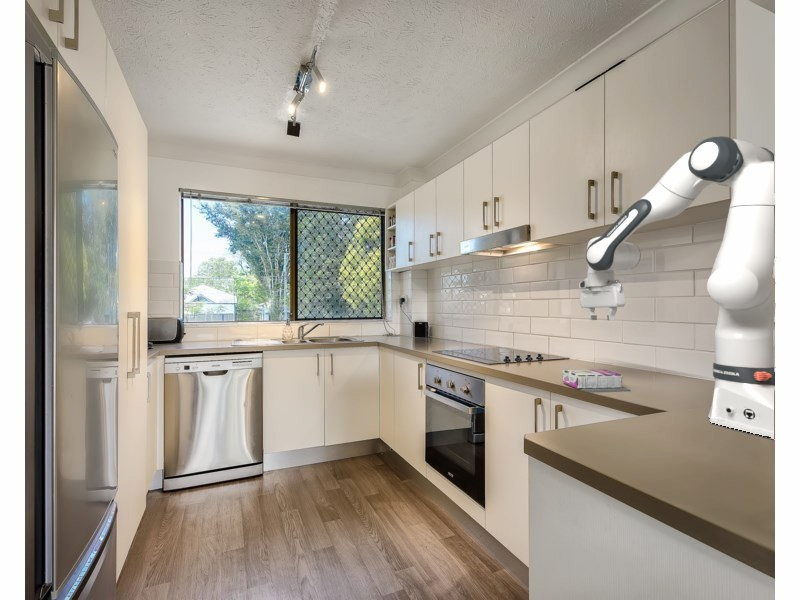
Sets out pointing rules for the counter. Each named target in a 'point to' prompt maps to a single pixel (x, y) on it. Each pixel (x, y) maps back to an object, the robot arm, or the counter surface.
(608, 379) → the candy bar box
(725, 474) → the counter surface
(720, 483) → the counter surface
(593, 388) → the mat
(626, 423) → the counter surface
